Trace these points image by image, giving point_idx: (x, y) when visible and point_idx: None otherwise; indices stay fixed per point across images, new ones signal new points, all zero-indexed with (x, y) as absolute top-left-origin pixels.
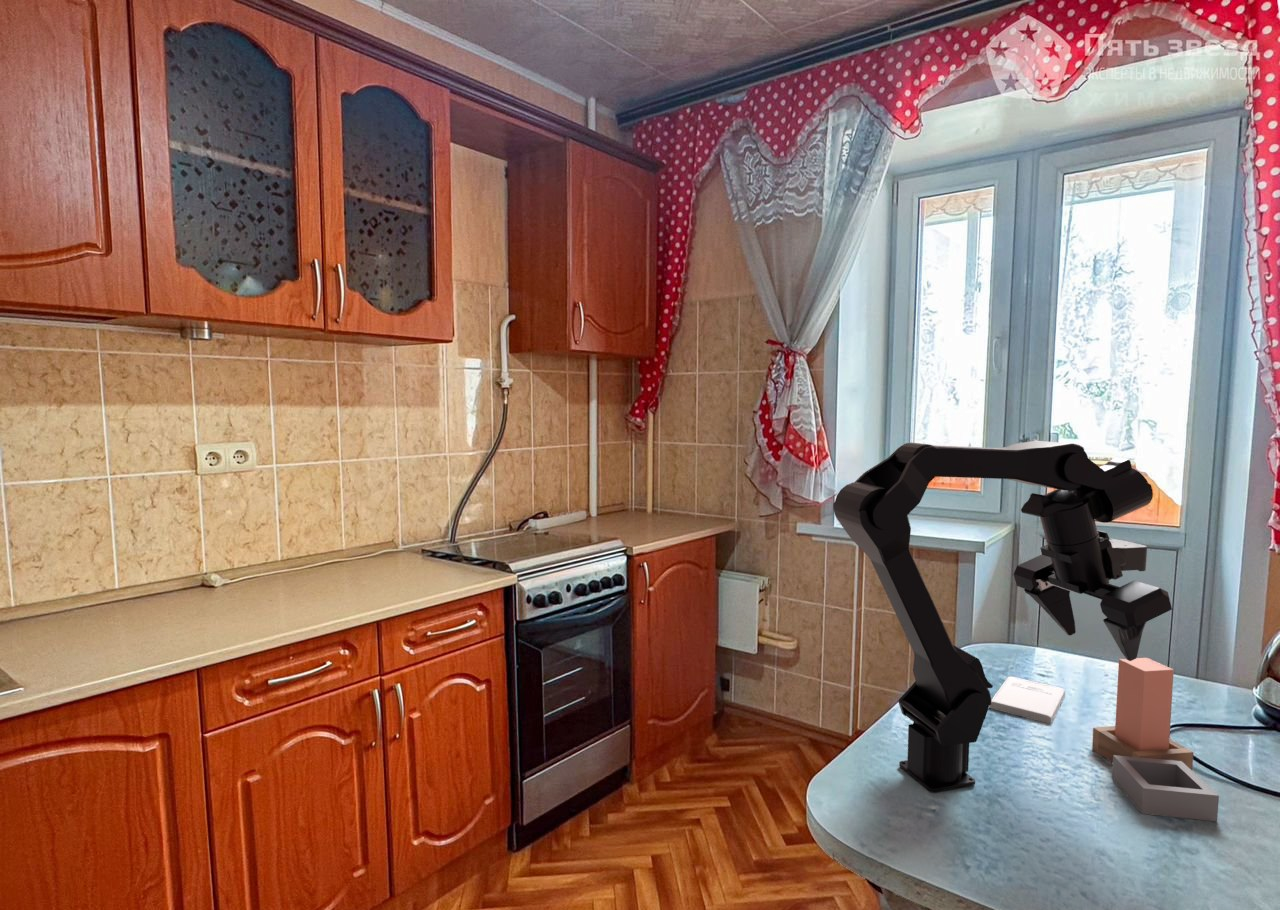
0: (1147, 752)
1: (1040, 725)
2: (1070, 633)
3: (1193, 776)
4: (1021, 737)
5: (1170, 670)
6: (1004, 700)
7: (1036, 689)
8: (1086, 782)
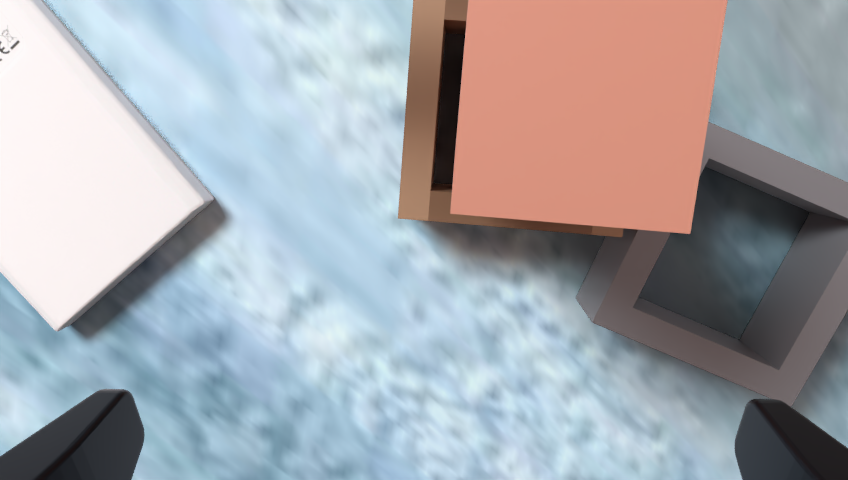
0: None
1: (221, 246)
2: (136, 441)
3: (788, 174)
4: (289, 374)
5: (724, 12)
6: (55, 277)
7: None
8: (573, 389)
